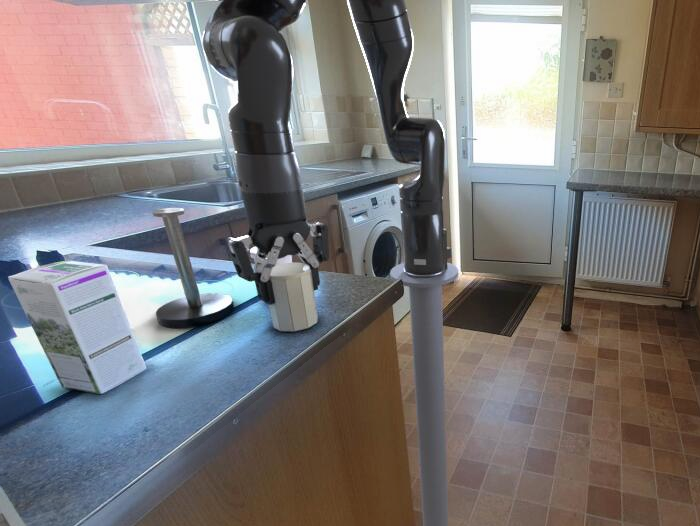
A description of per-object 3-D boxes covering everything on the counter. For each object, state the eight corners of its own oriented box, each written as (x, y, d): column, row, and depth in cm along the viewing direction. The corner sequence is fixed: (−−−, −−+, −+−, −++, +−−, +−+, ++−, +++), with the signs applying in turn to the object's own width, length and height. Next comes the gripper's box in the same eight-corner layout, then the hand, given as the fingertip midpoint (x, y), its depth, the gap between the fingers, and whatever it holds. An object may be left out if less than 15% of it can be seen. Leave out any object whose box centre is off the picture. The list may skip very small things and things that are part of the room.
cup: (303, 310, 69) (295, 259, 66) (326, 321, 66) (318, 268, 62) (265, 323, 64) (254, 269, 61) (288, 335, 61) (278, 279, 57)
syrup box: (149, 368, 52) (110, 262, 47) (99, 397, 47) (49, 280, 41) (111, 362, 53) (68, 257, 48) (58, 390, 48) (3, 275, 42)
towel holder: (218, 296, 73) (193, 200, 66) (245, 311, 68) (221, 210, 61) (148, 315, 65) (112, 210, 59) (173, 335, 60) (137, 222, 53)
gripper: (228, 196, 49) (256, 319, 56) (334, 184, 60) (347, 287, 67) (200, 188, 53) (229, 304, 60) (305, 178, 64) (320, 277, 71)
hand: (292, 295), depth 63 cm, fingers closed on cup, 6 cm apart
